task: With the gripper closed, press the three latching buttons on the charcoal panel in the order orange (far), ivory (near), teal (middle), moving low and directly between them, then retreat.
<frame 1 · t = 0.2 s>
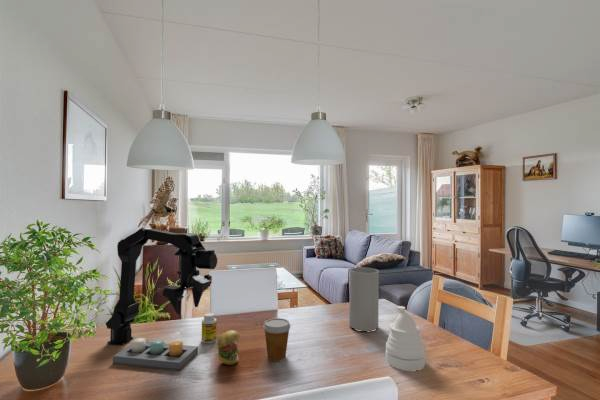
hand: (187, 310, 117), 14 cm above the table, fingers open, 9 cm apart
panel: (156, 358, 110), on the table
ivory button: (138, 345, 111), point 4 cm above the table, slide at 0.0 cm
hamburger: (228, 363, 108), on the table
disposable coffee cup: (276, 357, 112), on the table
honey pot: (404, 362, 110), on the table
cylinder vase: (363, 327, 141), on the table
orange button: (175, 348, 109), point 4 cm above the table, slide at 0.0 cm
supplement bottle: (208, 341, 125), on the table
teal button: (157, 346, 110), point 4 cm above the table, slide at 0.0 cm
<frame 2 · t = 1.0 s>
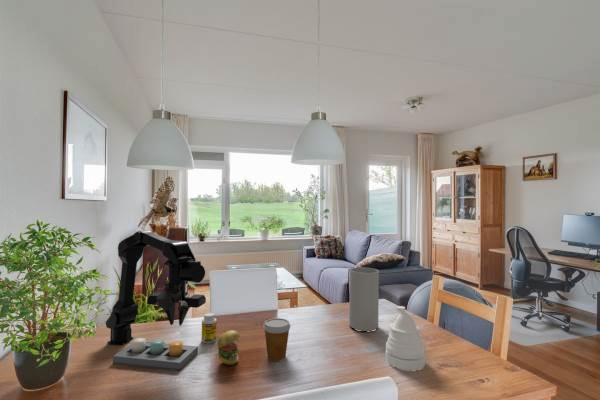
hand: (176, 324, 109), 12 cm above the table, fingers open, 3 cm apart
nothing on the table moved.
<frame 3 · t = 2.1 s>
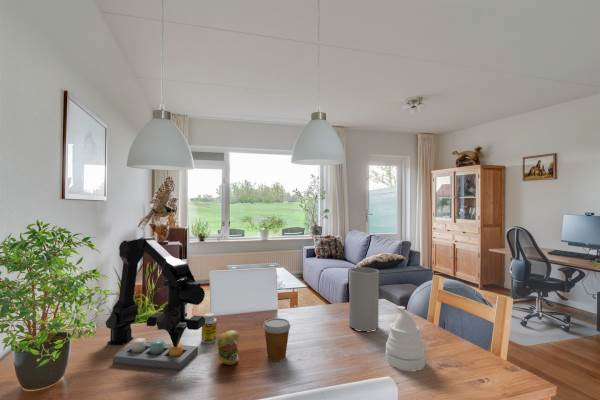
hand: (175, 346, 109), 5 cm above the table, fingers closed, pressing on orange button
orange button: (175, 351, 109), point 3 cm above the table, slide at 0.8 cm, touching gripper
everything else where it was.
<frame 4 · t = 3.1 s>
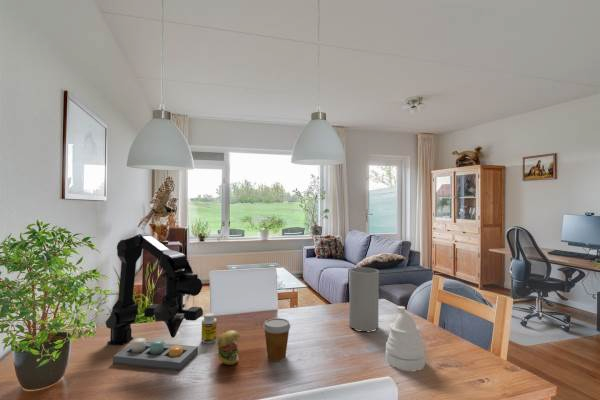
hand: (173, 337, 109), 8 cm above the table, fingers closed
orange button: (175, 353, 109), point 2 cm above the table, slide at 1.5 cm
everything else where it was.
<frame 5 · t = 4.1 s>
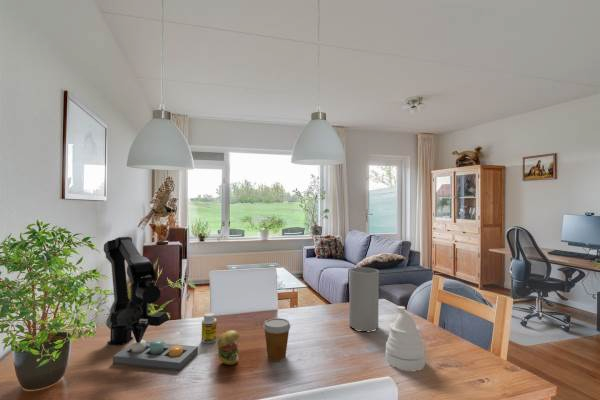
hand: (138, 342, 111), 5 cm above the table, fingers closed, pressing on ivory button
ivory button: (138, 346, 111), point 3 cm above the table, slide at 0.6 cm, touching gripper
everything else where it was.
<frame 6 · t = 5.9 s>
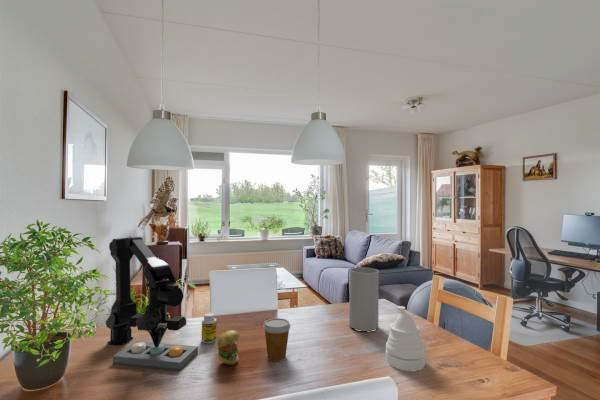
hand: (156, 346, 110), 4 cm above the table, fingers closed, pressing on teal button
ivory button: (138, 349, 111), point 2 cm above the table, slide at 1.5 cm
teal button: (156, 351, 110), point 3 cm above the table, slide at 1.5 cm, touching gripper
everything else where it was.
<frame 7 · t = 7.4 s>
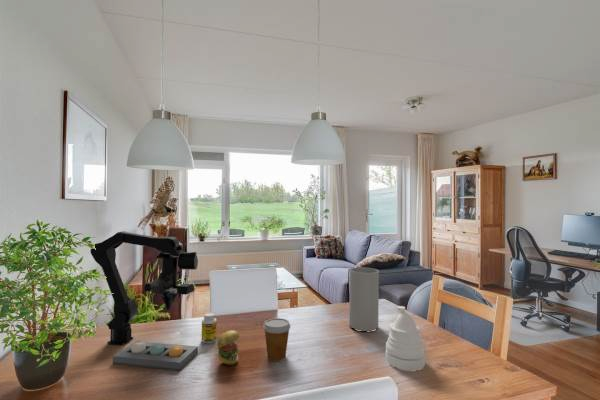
hand: (168, 309, 125), 12 cm above the table, fingers closed
teal button: (156, 351, 110), point 2 cm above the table, slide at 1.5 cm
everything else where it was.
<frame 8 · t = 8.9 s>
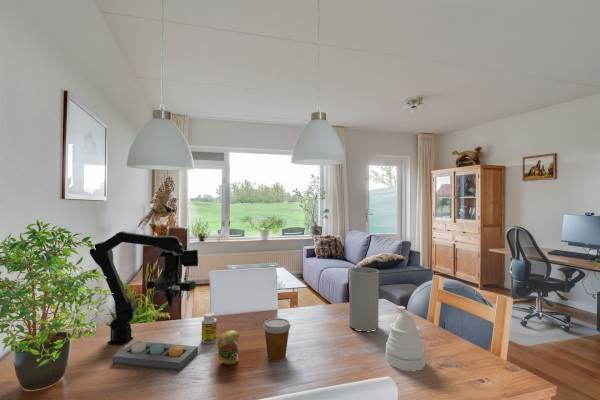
hand: (170, 306, 129), 12 cm above the table, fingers closed
nothing on the table moved.
at the end: orange button slide at 1.5 cm; ivory button slide at 1.5 cm; teal button slide at 1.5 cm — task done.
